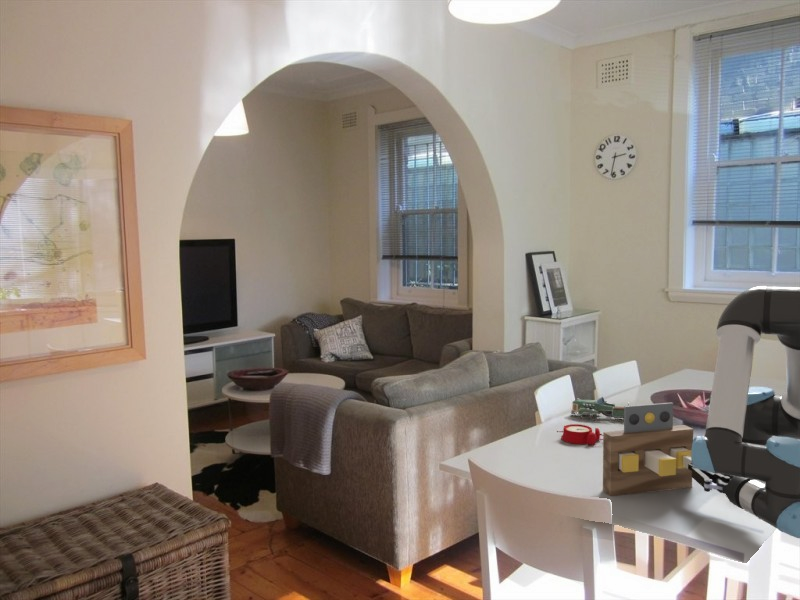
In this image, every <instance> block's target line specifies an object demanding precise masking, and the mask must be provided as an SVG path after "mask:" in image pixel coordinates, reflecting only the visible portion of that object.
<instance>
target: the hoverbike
mask: <svg viewBox="0 0 800 600" xmlns="http://www.w3.org/2000/svg"><path fill="white" fill-rule="evenodd" d="M571 404H572V408H571V411H570V413H571V414H570V415H576V414H577V416H580V417H581V419H583V420H584V419H586V418H587V416H588V417H590V416H592V419H593V420H597V419H598V415H601V414H602V415H603V416H605V418H606V419H613V418H614V420H616V421H617V420H618V421H624V406H616V404H615V403H611V402H607V400H605V398H604V396H602V397H599V398H598V399H596V400H594V399H593V400H592V399H580V398H578V399H575V400H573V401H572V403H571ZM627 406H630V402H629V401H628V402H627Z"/></svg>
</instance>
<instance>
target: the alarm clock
mask: <svg viewBox="0 0 800 600" xmlns="http://www.w3.org/2000/svg"><path fill="white" fill-rule="evenodd" d="M594 430H595V432H593V428H592V427H591V426H589V425H585V424H578V423H577V424H567V425H564V426H563V430H561V431H559V430H556V433H562V435H561V440H562V441H563V442H566V443H569V444H573V445H574V444H575V445H587V446H594V445H595V444H596V443H597V442H598V441H602V440H603V438H601V436H602V437H603V434H602V433H601V431H600V429H599V428H598V427H595V429H594Z"/></svg>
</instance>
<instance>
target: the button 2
mask: <svg viewBox="0 0 800 600" xmlns="http://www.w3.org/2000/svg"><path fill="white" fill-rule="evenodd" d="M669 456H671V457H674V458H676V468H678V469H680V468H685V467H683V456H690V457H691V450H688V449H686V448H684V447H672V448H670V451H669Z"/></svg>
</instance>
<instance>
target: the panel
mask: <svg viewBox="0 0 800 600" xmlns="http://www.w3.org/2000/svg"><path fill="white" fill-rule="evenodd" d="M602 435H603V436H602V437H603V438H602V439H603V441H602V442H603V444H602V447H603V449H602V491H603V492H604V493H606V494H607V495H608V496H610V497H614V496H625V495H634V494H642V493H650V492H660V490H661V491H668V489H670V490H678V489H679V490H680V489H688V488H693V478H692V471H691V470H689V469H687V468H680V469H678V468H676V475H669V476H659V474H657V473H655V472H654V471H652V470H650V469H649V468H647V467H645V466H644V450H651V449H657V450H659V451H661V452H663V453H665V454H667V455H669V451H670V448H672V447H684V448H686V449H688V450H691V449H692V443H693V440H694V428H692V427H690V426H688V425H685V424H679V425H673V429H664V430H653V431H642V432H631V433H624V429H623V430H621V429H620V430H613V431H611V430H609V431H603V434H602ZM630 451H631V452H633V453H634V454H637V455H639V466H638V471H634V472H622V471H621V470H620V469H618V453H620V452H630Z"/></svg>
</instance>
